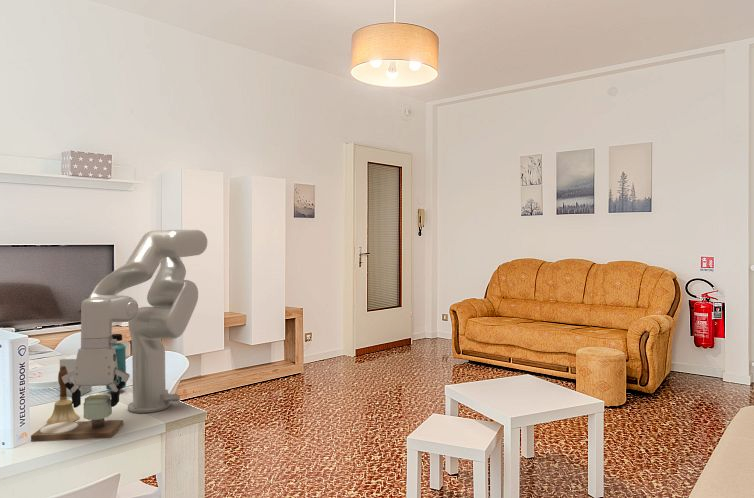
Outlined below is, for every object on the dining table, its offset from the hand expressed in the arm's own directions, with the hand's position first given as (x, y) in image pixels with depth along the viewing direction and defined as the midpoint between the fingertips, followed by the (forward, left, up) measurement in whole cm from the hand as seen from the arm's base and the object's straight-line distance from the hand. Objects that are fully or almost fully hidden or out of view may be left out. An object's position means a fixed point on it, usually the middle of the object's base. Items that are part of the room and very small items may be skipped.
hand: (95, 405), depth 153 cm
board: (+5, -1, -8) cm, 9 cm away
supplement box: (+21, -41, -8) cm, 46 cm away
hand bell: (+13, -12, -8) cm, 20 cm away
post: (0, -1, -6) cm, 6 cm away
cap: (0, -1, -3) cm, 3 cm away
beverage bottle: (+8, -41, -8) cm, 42 cm away
